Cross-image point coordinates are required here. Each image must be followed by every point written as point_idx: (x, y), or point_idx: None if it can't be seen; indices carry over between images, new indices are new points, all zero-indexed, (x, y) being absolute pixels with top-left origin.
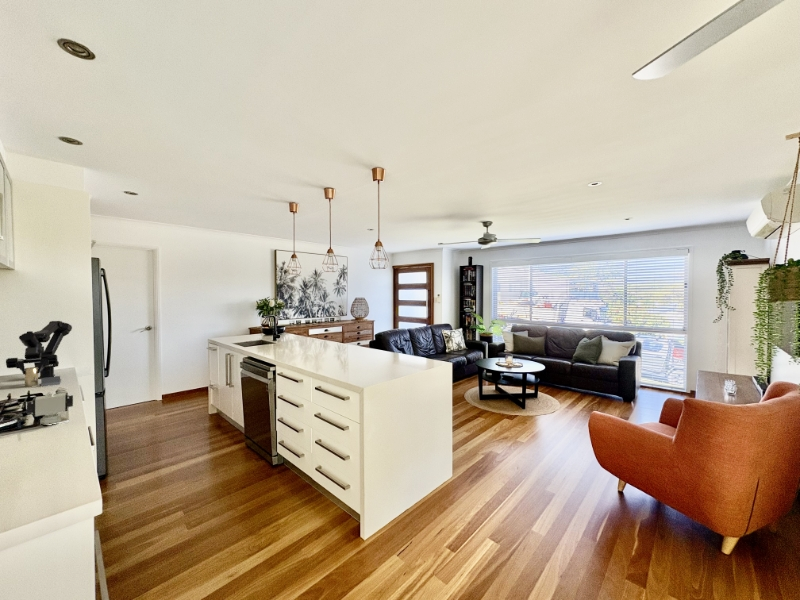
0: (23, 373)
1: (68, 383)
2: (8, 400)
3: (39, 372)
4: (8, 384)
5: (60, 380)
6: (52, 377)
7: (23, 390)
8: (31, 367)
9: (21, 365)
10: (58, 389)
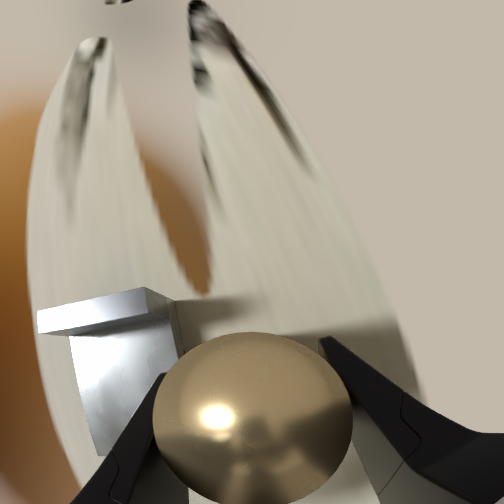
0: (329, 338)
1: None
2: (228, 36)
3: None
4: None
5: (79, 382)
6: (76, 304)
7: (251, 206)
8: (273, 479)
9: (440, 436)
10: (78, 151)
